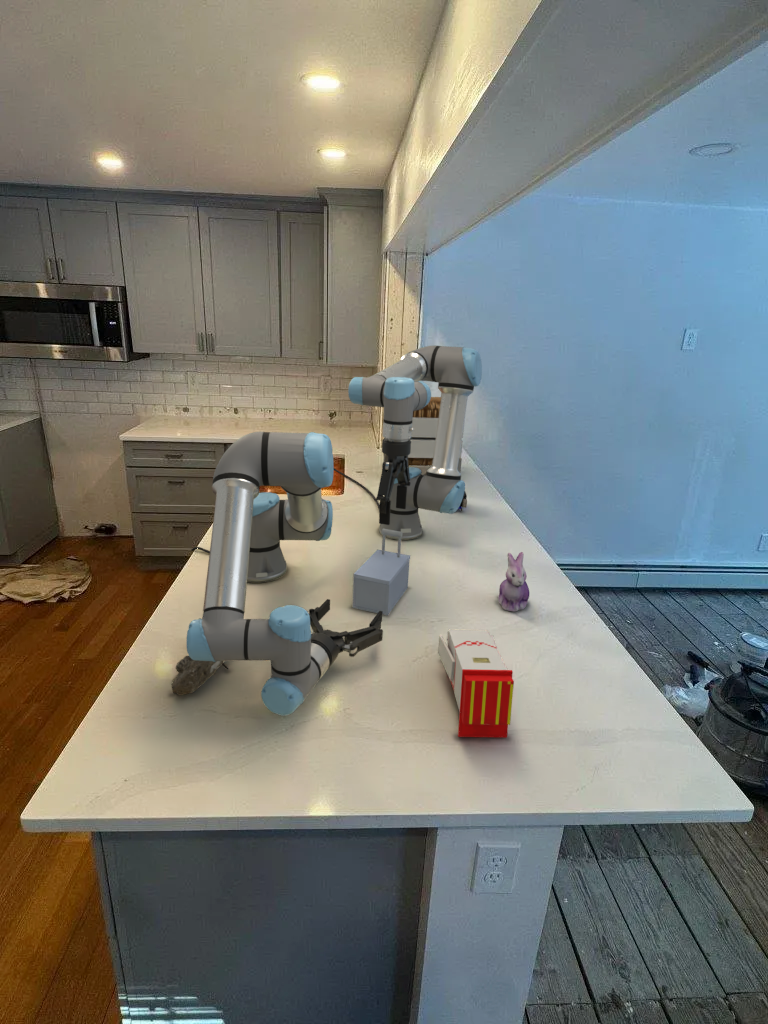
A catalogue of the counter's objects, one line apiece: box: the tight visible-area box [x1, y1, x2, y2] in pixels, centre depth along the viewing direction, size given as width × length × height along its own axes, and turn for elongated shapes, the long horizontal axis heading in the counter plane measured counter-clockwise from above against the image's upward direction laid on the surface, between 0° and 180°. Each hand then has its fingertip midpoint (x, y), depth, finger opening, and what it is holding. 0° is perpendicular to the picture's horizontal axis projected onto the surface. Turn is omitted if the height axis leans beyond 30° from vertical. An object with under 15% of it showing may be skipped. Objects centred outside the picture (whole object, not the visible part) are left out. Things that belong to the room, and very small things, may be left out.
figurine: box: [497, 551, 530, 612], centre depth 152 cm, size 9×10×15 cm
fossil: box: [171, 655, 230, 696], centre depth 121 cm, size 22×10×15 cm
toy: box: [437, 628, 515, 738], centre depth 117 cm, size 12×13×30 cm
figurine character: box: [457, 491, 468, 512], centre depth 228 cm, size 7×8×15 cm
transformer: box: [383, 392, 465, 475], centre depth 268 cm, size 34×33×41 cm
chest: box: [352, 559, 411, 616], centre depth 154 cm, size 17×10×9 cm, turn 160°
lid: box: [352, 529, 411, 585], centre depth 151 cm, size 18×10×9 cm, turn 160°
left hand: (354, 609), depth 136 cm, fingers open, 13 cm apart
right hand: (392, 515), depth 154 cm, fingers open, 13 cm apart
